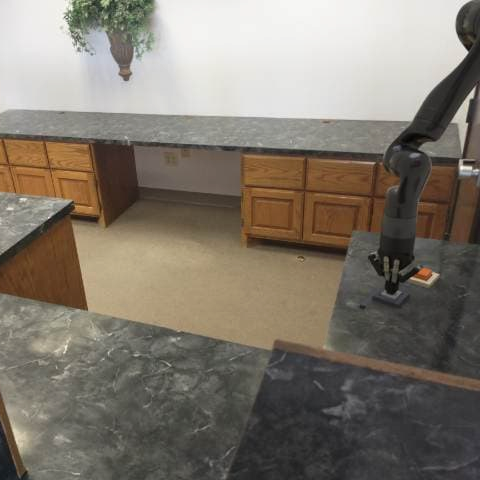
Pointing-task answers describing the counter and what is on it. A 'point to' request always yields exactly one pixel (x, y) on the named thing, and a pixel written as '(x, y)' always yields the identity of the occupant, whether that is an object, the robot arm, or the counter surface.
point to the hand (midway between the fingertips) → (390, 292)
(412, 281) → the keypad
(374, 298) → the keypad
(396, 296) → the key
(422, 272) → the key
